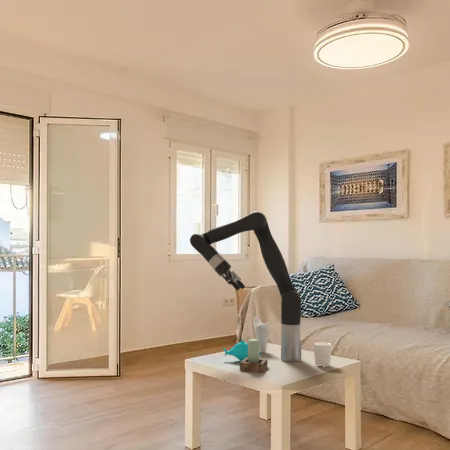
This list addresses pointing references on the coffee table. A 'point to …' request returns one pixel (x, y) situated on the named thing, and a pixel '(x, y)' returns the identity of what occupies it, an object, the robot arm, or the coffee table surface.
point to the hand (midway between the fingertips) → (241, 288)
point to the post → (253, 351)
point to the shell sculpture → (261, 333)
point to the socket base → (253, 365)
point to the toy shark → (239, 350)
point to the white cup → (322, 353)
